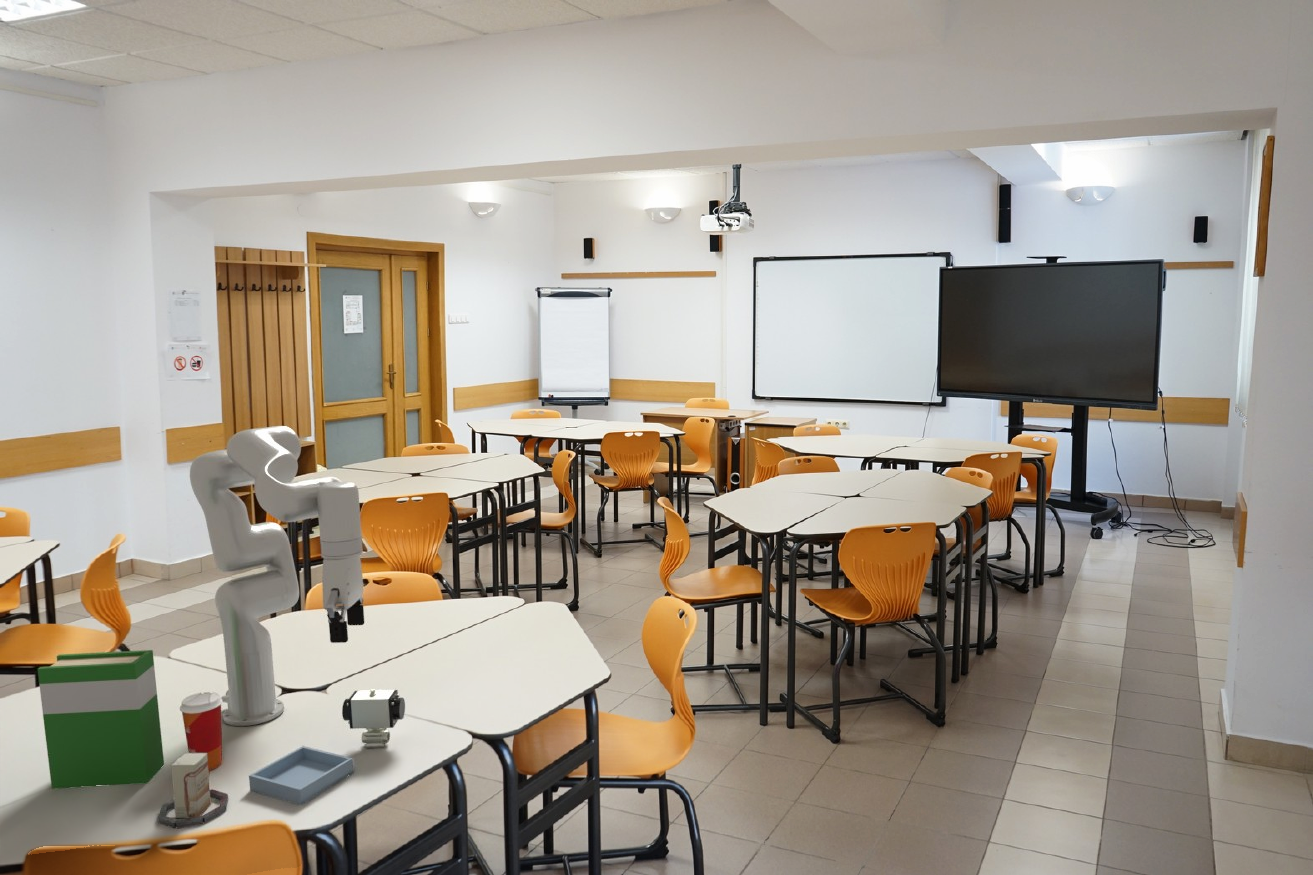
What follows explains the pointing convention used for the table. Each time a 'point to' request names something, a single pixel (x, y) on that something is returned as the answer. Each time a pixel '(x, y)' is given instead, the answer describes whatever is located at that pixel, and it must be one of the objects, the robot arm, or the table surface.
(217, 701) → the paper cup
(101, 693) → the hardback book
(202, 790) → the skincare box
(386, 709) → the pneumatic valve
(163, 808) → the collar
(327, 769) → the tray
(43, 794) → the table surface
